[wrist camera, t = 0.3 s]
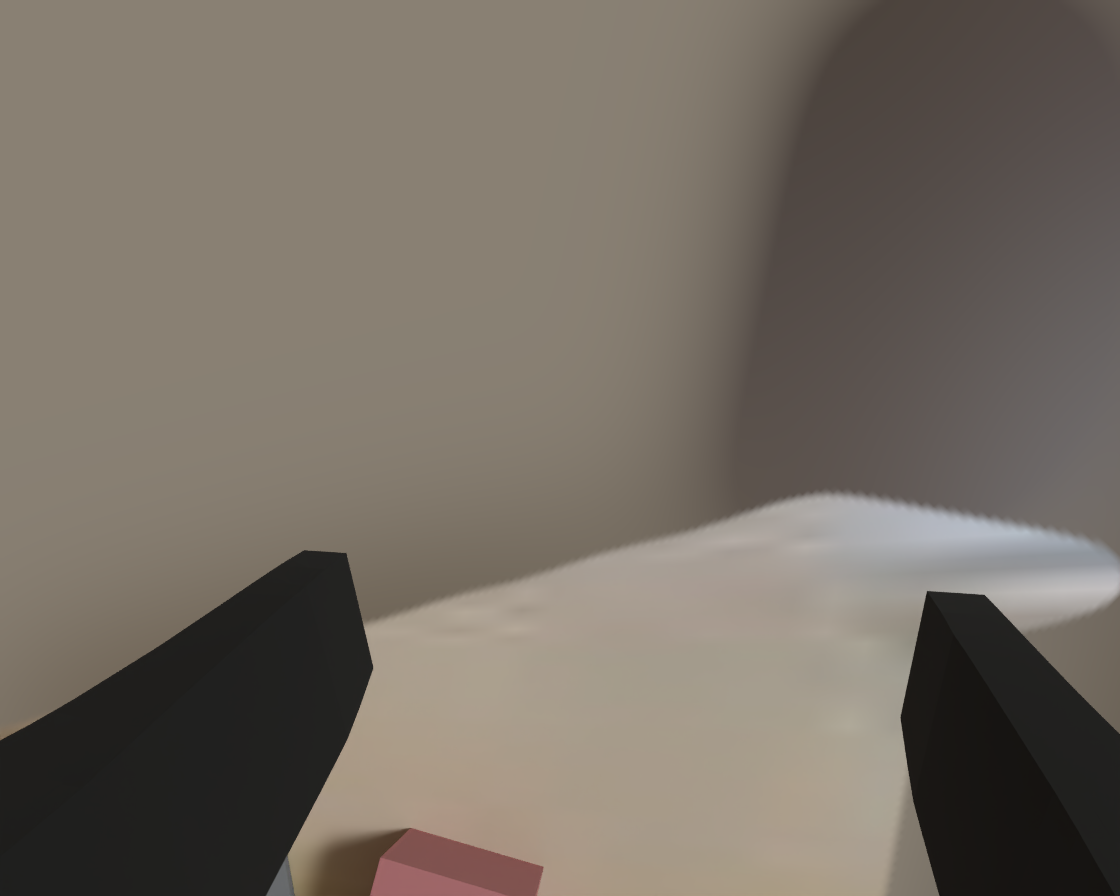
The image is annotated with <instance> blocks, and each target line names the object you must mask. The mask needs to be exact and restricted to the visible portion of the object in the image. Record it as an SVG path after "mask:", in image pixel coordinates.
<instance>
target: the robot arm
mask: <svg viewBox="0 0 1120 896" xmlns="http://www.w3.org/2000/svg"><path fill="white" fill-rule="evenodd" d="M372 670H373V664H372V660H371V656H370V651H369V647H368V643H367V639H366V634H365V630H364V626H363V622H362V618H361V613H360V609H359V605H358V601H357V596H356V592H355V588H354V584H353V580H352V575H351V571H350V567H349V563H348V558H347V554H346V553H336V552H321V551H306V550H304V551H302V552H301V553H299V554H297V555H296V556H294V557H292V558H291V559H289V560H287V561H286V562H284V563H283V564H281V565H279V566H278V567H276V568H275V569H273V570H272V571H270V572H269V573H267V574H266V575H264V576H263V577H261V578H260V579H258V580H257V581H255V582H254V583H252V584H251V585H249V586H248V587H246V588H245V589H243V590H242V591H240V592H239V593H237V594H236V595H234V596H233V597H232V598H230V599H229V600H227V601H226V602H224V603H223V604H221V605H220V606H218V607H217V608H215V609H214V610H212V611H211V612H209V613H208V614H206V615H205V616H203V617H202V618H200V619H199V620H197V621H196V622H195V623H193V624H191V625H190V626H188V627H187V628H186V629H184V630H182V631H181V632H179V633H178V634H176V635H175V636H174V637H172V638H171V639H169V640H168V641H166V642H165V643H163V644H162V645H160V646H159V647H157V648H155V649H154V650H152V651H151V652H149V653H147V654H146V655H144V656H143V657H141V658H139V659H138V660H137V661H135V662H133V663H131V664H130V665H128V666H127V667H125V668H123V669H122V670H120V671H119V672H117V673H116V674H114V675H112V676H111V677H109V678H107V679H106V680H104V681H102V682H101V683H99V684H98V685H96V686H94V687H93V688H92V689H90V690H88V691H87V692H85V693H83V694H82V695H80V696H78V697H77V698H75V699H74V700H72V701H70V702H68V703H67V704H65V705H63V706H62V707H60V708H58V709H57V710H55V711H53V712H51V713H49V714H48V715H46V716H44V717H42V718H41V719H39V720H37V721H35V722H34V723H32V724H30V725H28V726H26V727H25V728H23V729H21V730H19V731H17V732H15V733H13V734H12V735H10V736H8V737H6V738H4V739H2V740H0V896H266V895H267V893H268V891H269V889H270V887H271V885H272V883H273V882H274V880H275V878H276V876H277V874H278V872H279V870H280V868H281V866H282V864H283V862H284V861H285V859H286V857H287V855H288V853H289V851H290V849H291V847H292V845H293V843H294V841H295V840H296V838H297V836H298V834H299V832H300V830H301V828H302V826H303V824H304V822H305V820H306V819H307V817H308V815H309V813H310V811H311V809H312V807H313V805H314V803H315V801H316V800H317V798H318V796H319V794H320V792H321V790H322V788H323V786H324V784H325V782H326V780H327V778H328V776H329V774H330V772H331V770H332V768H333V767H334V765H335V763H336V761H337V759H338V757H339V755H340V753H341V751H342V749H343V747H344V745H345V743H346V741H347V739H348V736H349V734H350V731H351V728H352V726H353V723H354V721H355V718H356V715H357V713H358V710H359V708H360V705H361V702H362V699H363V696H364V693H365V691H366V688H367V685H368V682H369V679H370V676H371V673H372ZM901 724H902V731H903V738H904V745H905V752H906V759H907V765H908V771H909V777H910V783H911V790H912V796H913V802H914V805H915V809H916V813H917V817H918V820H919V824H920V827H921V831H922V835H923V838H924V842H925V846H926V849H927V853H928V856H929V860H930V864H931V867H932V871H933V875H934V878H935V882H936V885H937V889H938V892H939V895H940V896H1120V734H1119V733H1118V732H1117V731H1116V730H1115V729H1114V728H1113V727H1112V726H1111V725H1110V724H1109V723H1108V722H1107V721H1106V720H1105V719H1104V718H1103V717H1102V716H1101V715H1100V714H1099V713H1098V712H1097V711H1096V710H1095V709H1094V708H1093V707H1092V706H1091V705H1090V704H1089V703H1088V702H1087V701H1086V700H1085V699H1084V698H1083V697H1082V696H1081V695H1080V694H1079V693H1078V692H1077V691H1076V690H1075V689H1074V688H1073V687H1072V686H1071V685H1070V684H1069V683H1068V682H1067V681H1066V680H1065V679H1064V678H1063V677H1062V676H1061V675H1060V674H1059V672H1058V671H1057V670H1056V669H1055V668H1054V667H1053V666H1052V665H1051V664H1050V663H1049V662H1048V661H1047V660H1046V659H1045V658H1044V657H1043V656H1042V655H1041V654H1040V653H1039V652H1038V651H1037V649H1036V648H1035V647H1034V646H1033V645H1032V644H1031V643H1030V642H1029V641H1028V640H1027V639H1026V638H1025V637H1024V636H1023V635H1022V634H1021V633H1020V632H1019V631H1018V629H1017V628H1016V627H1015V626H1014V625H1013V624H1012V623H1011V622H1010V621H1009V620H1008V619H1007V618H1006V617H1005V616H1004V615H1003V614H1002V613H1001V612H1000V610H999V609H998V608H997V607H996V606H995V605H994V604H993V603H992V602H991V601H990V600H989V599H988V598H987V597H986V596H985V595H978V594H963V593H947V592H932V591H927V594H926V599H925V603H924V608H923V613H922V618H921V622H920V627H919V632H918V637H917V641H916V646H915V651H914V656H913V660H912V665H911V670H910V675H909V680H908V684H907V689H906V694H905V699H904V703H903V708H902V713H901Z"/></svg>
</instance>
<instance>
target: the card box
mask: <svg viewBox="0 0 1120 896" xmlns="http://www.w3.org/2000/svg"><path fill="white" fill-rule="evenodd" d="M542 872H543V867H542V866H538V865H535V864H532V863H528V862H525V861H521V860H518V859H515V858H511V857H508V856H504V855H501V854H498V853H494V852H491V851H487V850H484V849H481V848H477V847H474V846H470V845H467V844H463V843H460V842H457V841H453V840H450V839H446V838H443V837H440V836H436V835H433V834H429V833H426V832H423V831H419V830H416V829H412V828H410V829H409V830H408V831H407V832H406V833H405V834H404V835H403V836H402V837H401V838H400V839H399V840H398V841H397V842H396V843H395V844H394V845H393V846H392V847H391V848H389V849H388V850H387V851H386V852H385V853H384V854H383V855H382V856H381V857H380V861H379V864H378V868H377V872H376V875H375V879H374V883H373V886H372V890H371V894H370V896H537V893H538V889H539V885H540V880H541V876H542Z"/></svg>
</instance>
